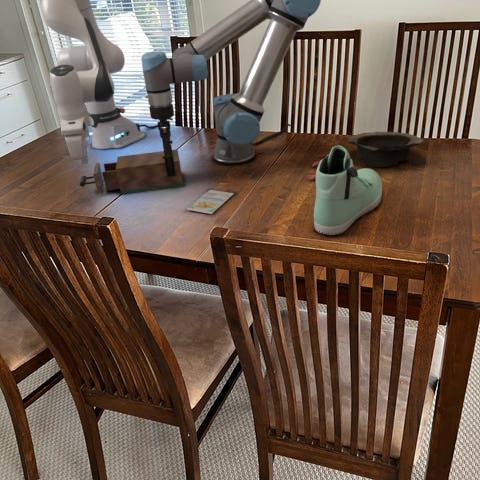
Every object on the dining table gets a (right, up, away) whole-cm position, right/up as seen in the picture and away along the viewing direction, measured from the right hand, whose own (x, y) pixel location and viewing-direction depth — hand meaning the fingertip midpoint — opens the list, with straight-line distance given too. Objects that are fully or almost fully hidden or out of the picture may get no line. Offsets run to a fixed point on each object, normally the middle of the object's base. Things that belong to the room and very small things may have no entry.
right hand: (170, 169), depth 162 cm
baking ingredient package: (+15, -12, -14) cm, 24 cm away
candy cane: (+50, -1, -1) cm, 50 cm away
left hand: (-27, +1, -6) cm, 28 cm away
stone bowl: (+74, +5, +6) cm, 74 cm away
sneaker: (+55, -15, -24) cm, 62 cm away
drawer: (-17, -5, 0) cm, 18 cm away
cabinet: (-7, -5, +1) cm, 8 cm away
